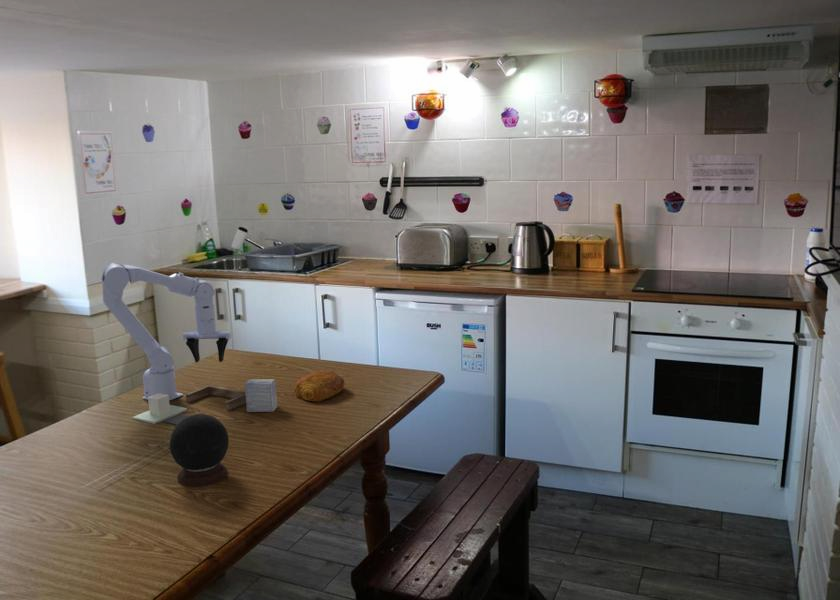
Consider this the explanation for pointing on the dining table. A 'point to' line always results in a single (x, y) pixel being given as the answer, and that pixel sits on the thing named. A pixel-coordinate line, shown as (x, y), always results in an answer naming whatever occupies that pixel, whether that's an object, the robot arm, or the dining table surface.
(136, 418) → the pad
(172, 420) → the trap tile
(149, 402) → the cream block
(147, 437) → the dining table surface
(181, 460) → the black smart speaker
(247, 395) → the medicine box
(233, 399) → the brown u-shaped bracket
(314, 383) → the croissant
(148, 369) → the robot arm
